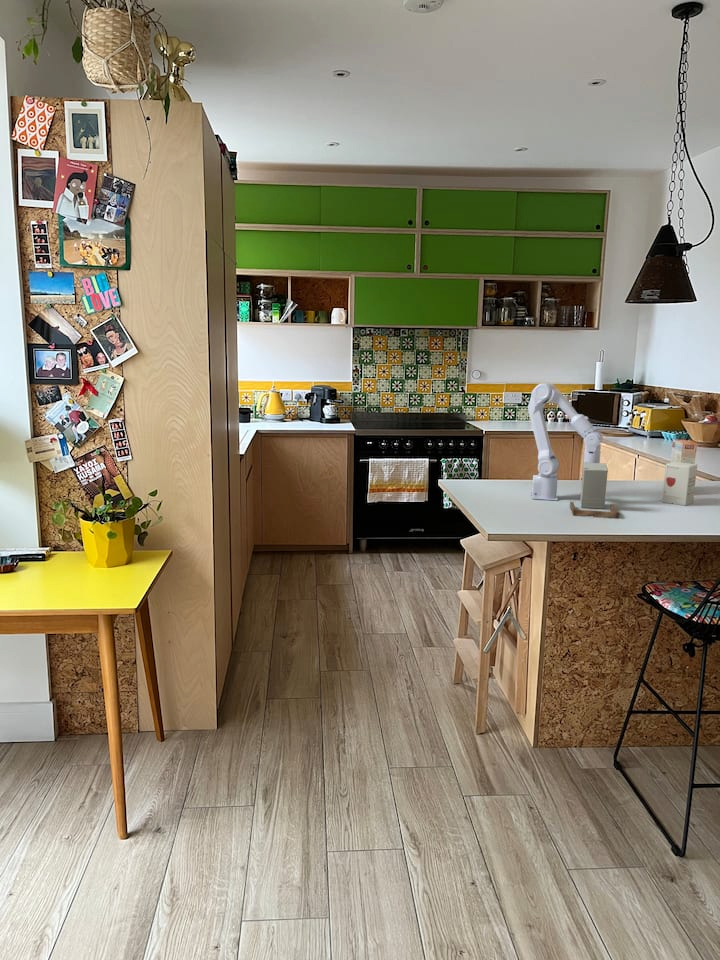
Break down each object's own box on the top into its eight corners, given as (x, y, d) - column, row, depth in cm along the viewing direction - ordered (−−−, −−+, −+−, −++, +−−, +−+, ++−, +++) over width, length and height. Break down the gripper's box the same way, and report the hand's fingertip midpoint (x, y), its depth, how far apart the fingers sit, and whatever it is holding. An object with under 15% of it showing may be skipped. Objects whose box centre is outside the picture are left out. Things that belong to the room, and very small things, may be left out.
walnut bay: (573, 515, 245) (573, 510, 245) (569, 507, 259) (570, 501, 259) (618, 518, 243) (619, 512, 242) (612, 509, 256) (613, 504, 256)
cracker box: (692, 495, 286) (697, 443, 282) (676, 494, 287) (681, 443, 283) (682, 488, 300) (687, 439, 296) (667, 487, 301) (672, 438, 297)
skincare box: (602, 502, 262) (607, 462, 256) (604, 510, 256) (609, 469, 249) (578, 500, 264) (583, 460, 257) (579, 508, 257) (584, 468, 251)
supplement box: (661, 502, 271) (664, 463, 268) (669, 498, 278) (673, 461, 275) (685, 506, 265) (689, 466, 262) (693, 502, 271) (698, 464, 269)
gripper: (605, 466, 256) (602, 503, 259) (600, 460, 270) (597, 495, 273) (585, 465, 257) (582, 502, 260) (580, 459, 271) (578, 494, 274)
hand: (588, 498), depth 266 cm, fingers open, 6 cm apart
